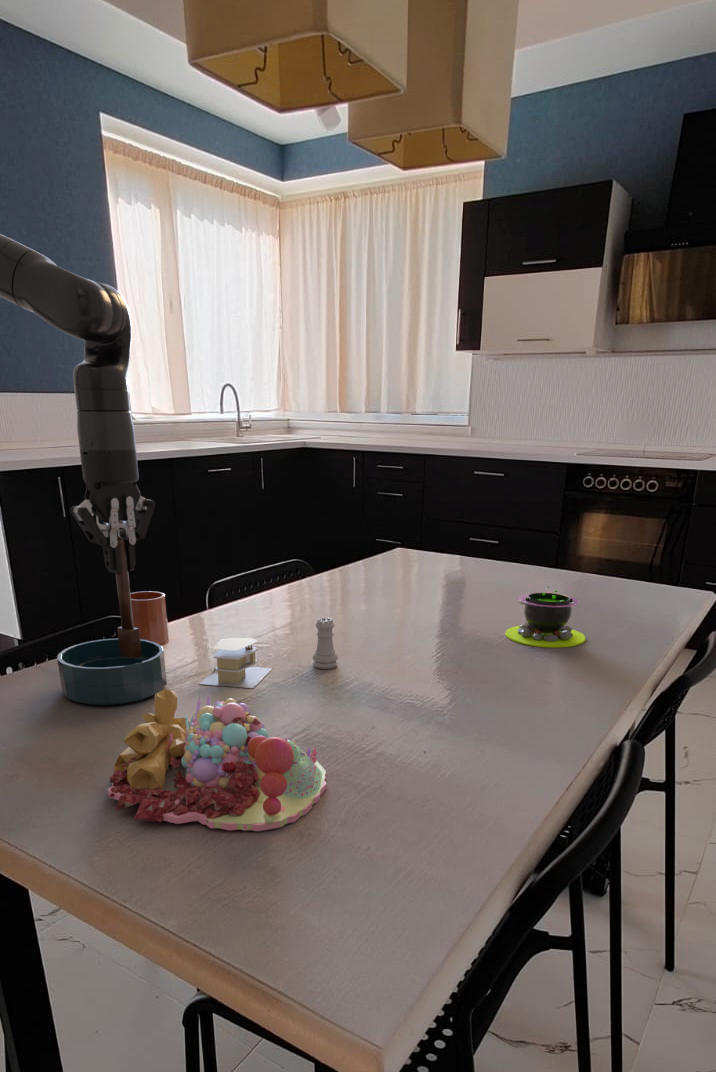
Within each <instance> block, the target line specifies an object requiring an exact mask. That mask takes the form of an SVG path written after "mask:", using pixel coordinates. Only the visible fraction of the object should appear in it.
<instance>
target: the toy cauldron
mask: <svg viewBox="0 0 716 1072" xmlns="http://www.w3.org/2000/svg"><path fill="white" fill-rule="evenodd" d="M542 578H543V577H542V576H541V577H539V580H541V581H546V582H548V580H545V579H542ZM558 579H560V580H558V582H561V580H563V578H562V577H558ZM555 582H556V581H555V580H553V583H552V582H551V585H554V583H555ZM537 584H538V585H539V584H545V582H543V583H541V582H540V583H537ZM549 584H550V583H547V585H548V586H547V588H548V589H549V588H550V586H549ZM533 585H534V583H533V584H529V585H528V588H529V589H531V590H533V591H536V589H534V588H531V587H532V586H533ZM559 585H561V586H562V584H560V583H559ZM563 586H564V587H567V588H569V589H568V590H567V591H566V590H565V591H564V593H566V592H570V591H572V590H573V588H572V587H569V586H568V585H565V584H563ZM517 598H518V603H519V604H521V605H524V611H523V615H524V618H525V621H526V622H524V623H522V624H520V625H515V626H511V627H509V628H508V629H506V631H505V637H506V638H507V639H508V640H510V641H512V642H515V643H519V644H522V645H524V646H525V645H526V646H532V647H537V648H551V649H555V648H557V649H558V648H559V649H561V648H571V647H576V646H579V645H582V644H584V643H585V642H586V636H585V635H584V634H583V633H582V632H580V631H578V630H575V629H573V628H572V627H571V626H569V625H567V624H568V623H569V621H570V618H571V616H572V610H573V609H572V607H575V606H578V605H580V600H579V599H577V598H575V597H573V596H569V595H566V594H563V593H559V592H558V590H557V589H554V592H549V591H545V590H544V591H540V590H538V589H537V592H533V593H532V592H531V593H526V594H523V595H520V596H518V597H517Z"/></svg>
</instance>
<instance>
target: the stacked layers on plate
mask: <svg viewBox="0 0 716 1072" xmlns="http://www.w3.org/2000/svg"><path fill="white" fill-rule="evenodd" d="M257 641H258V640H257V639H255V638H252V637H228V638H222V639H219V640H218V642H217V643H216V644H215V645H214V646H213V649H214V650H217V651H216V653H215V654H214V656H213V658H214V659H216V665H215V668H214V670H213V671H212V672H211V673H210V674H209V675H207V676H206V677H205V678H204V679H203V680H202V681H200V682H199V683H198V685H207V686H219V687H230V688H231V687H233V688H245V689H254V688H255V687H257V685H258V684H259V683H260V682H261V681H262V680H263V678H265V677H266V676H267V675H268V674H269V673H270V672H271V671H272V670H273V668H271V667H259V666H255V665H257V664H258V663H259V660H258V659H256V652H257V651H258V647H256V646H253V644H256V643H257Z"/></svg>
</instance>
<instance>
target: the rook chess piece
mask: <svg viewBox="0 0 716 1072" xmlns="http://www.w3.org/2000/svg"><path fill="white" fill-rule="evenodd" d="M316 621H317V622H316V623H315V625H314V626H315V627H316V629H317V633H316V635H317V644H316V649H315V651H314V654H313V655H312V663H311V664H312V666H313V667H314V668H316V669H318V670H332V669H335V668H337V666H338V665H339V661H338V660H339V656H338V654H337V653H336V650H335V648H334V641H333V636H334V633H333V629H334V627H336V625H335V623H334V619H333V618H331V617H327V620H326V617H322V618H321V617H318V618H317V619H316Z"/></svg>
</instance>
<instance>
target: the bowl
mask: <svg viewBox="0 0 716 1072" xmlns="http://www.w3.org/2000/svg"><path fill="white" fill-rule="evenodd" d="M140 644H141V654H142V656H140V657H137V658H133V659H132V658H129V657H125V656H122V655H120V649H119V640H118V637H117V638H104V639H96V640H91V641H86V642H85V641H84V642H82V643H78V644H74V645H72V646H69V647H67V648H64V649H62V650H61V651H60V652H59V653H58V654H57V658H56V660H57V661H56V662H57V666H58V674H59V679H60V686H61V693H62V695H63V696H64V697H66V699H68V700H70V701H73V702H77V703H81V704H85V705H93V706H118V705H126V704H130V703H135V702H140V701H142V700H145V699H149V698H150V697H152V696H155V694H156V693H158V692H160V691H162V690H164V689H165V687H166V686H167V684H168V682H167V671H166V661H165V651H164V647H163V645H159V644H158V643H155V642H152V641H148V640H141V639H140Z"/></svg>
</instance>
